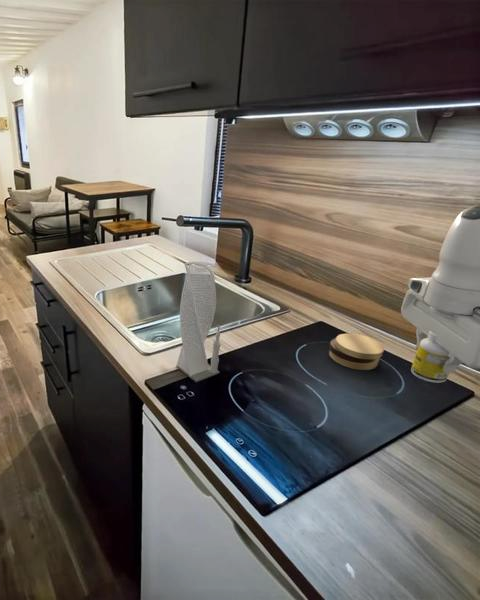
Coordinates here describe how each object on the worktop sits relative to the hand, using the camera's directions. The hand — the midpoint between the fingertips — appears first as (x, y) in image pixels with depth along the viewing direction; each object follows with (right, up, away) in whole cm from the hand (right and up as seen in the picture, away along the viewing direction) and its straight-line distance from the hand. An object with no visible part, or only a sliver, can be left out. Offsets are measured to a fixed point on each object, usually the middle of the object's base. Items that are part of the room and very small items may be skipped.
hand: (433, 360), depth 72 cm
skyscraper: (-42, -5, +16) cm, 46 cm away
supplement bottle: (0, -3, +2) cm, 4 cm away
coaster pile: (-4, -2, +16) cm, 17 cm away
